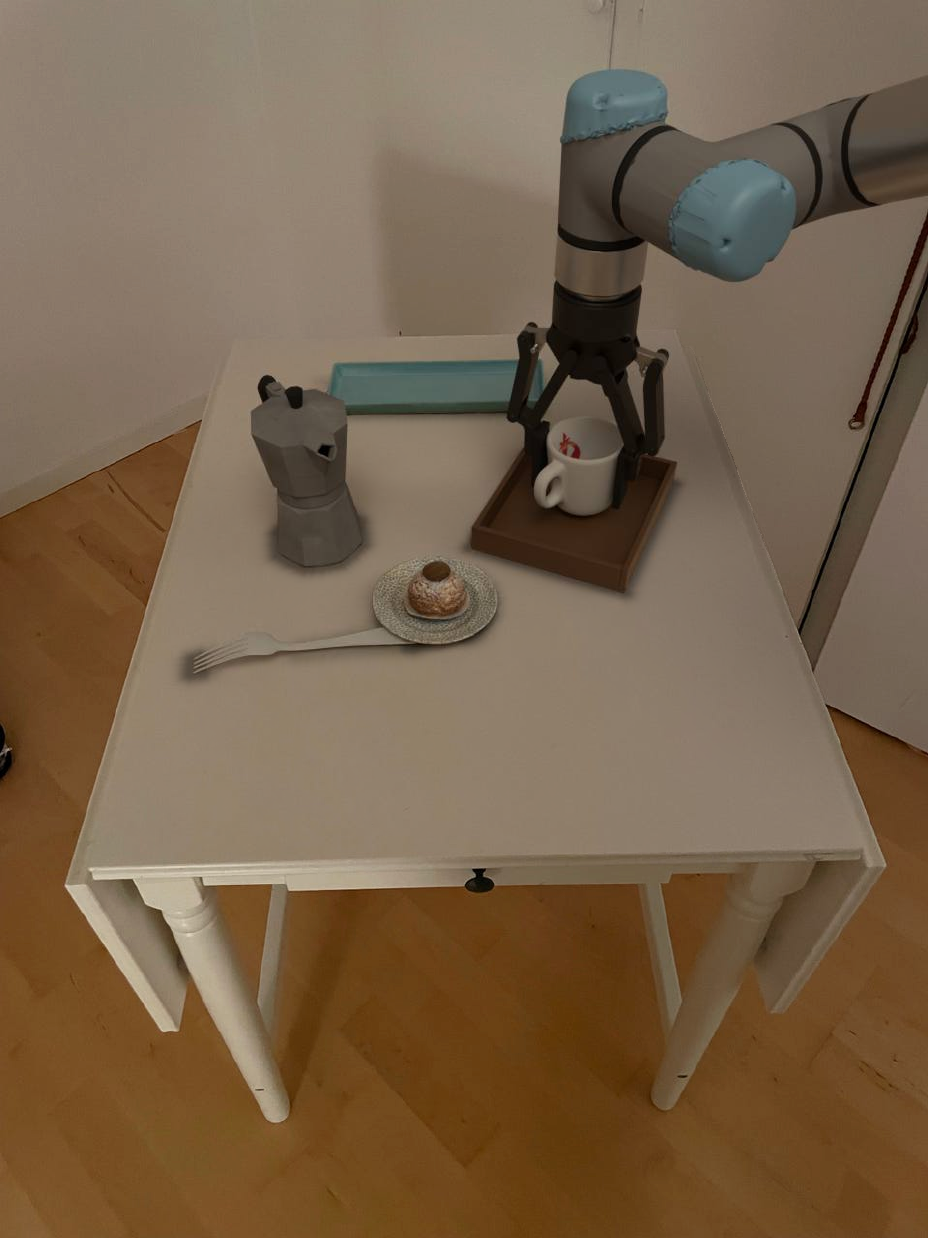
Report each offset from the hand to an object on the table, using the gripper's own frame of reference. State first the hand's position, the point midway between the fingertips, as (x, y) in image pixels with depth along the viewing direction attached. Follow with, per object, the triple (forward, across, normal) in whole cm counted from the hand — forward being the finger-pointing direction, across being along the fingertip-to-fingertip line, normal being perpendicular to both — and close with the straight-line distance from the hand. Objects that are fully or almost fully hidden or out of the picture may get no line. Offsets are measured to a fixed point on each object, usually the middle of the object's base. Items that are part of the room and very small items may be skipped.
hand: (578, 489), depth 94 cm
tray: (+3, 0, 0) cm, 3 cm away
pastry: (+3, +8, +18) cm, 20 cm away
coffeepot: (+4, +24, +13) cm, 28 cm away
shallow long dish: (+4, +23, -14) cm, 27 cm away
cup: (+3, 0, 0) cm, 3 cm away
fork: (+4, +16, +28) cm, 32 cm away
